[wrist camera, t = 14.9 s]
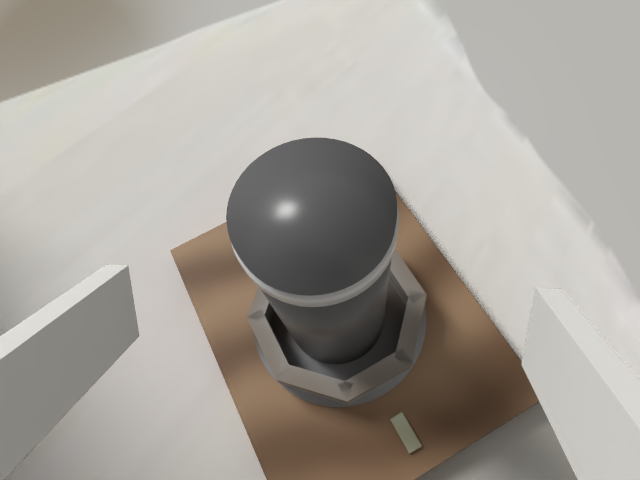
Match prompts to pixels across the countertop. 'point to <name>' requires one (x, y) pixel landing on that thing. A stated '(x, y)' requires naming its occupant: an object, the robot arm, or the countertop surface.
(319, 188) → the dome-topped grey cylinder
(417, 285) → the mount board
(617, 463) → the robot arm
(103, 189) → the countertop surface
